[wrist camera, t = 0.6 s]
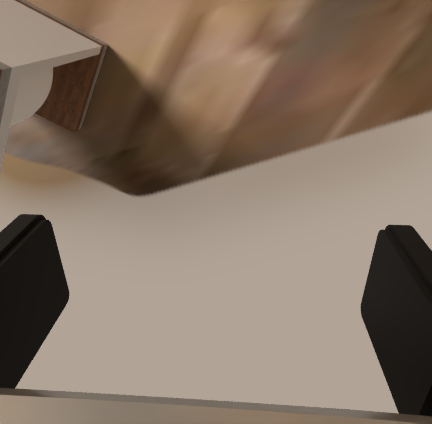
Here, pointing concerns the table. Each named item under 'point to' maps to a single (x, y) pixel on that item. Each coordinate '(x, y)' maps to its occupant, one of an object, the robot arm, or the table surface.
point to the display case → (44, 68)
